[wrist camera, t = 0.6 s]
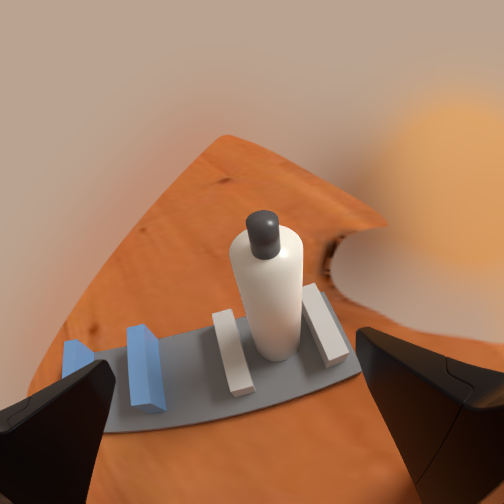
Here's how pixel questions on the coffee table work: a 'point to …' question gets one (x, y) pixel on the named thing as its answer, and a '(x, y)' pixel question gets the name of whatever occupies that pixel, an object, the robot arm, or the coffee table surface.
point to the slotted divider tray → (216, 369)
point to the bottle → (270, 283)
